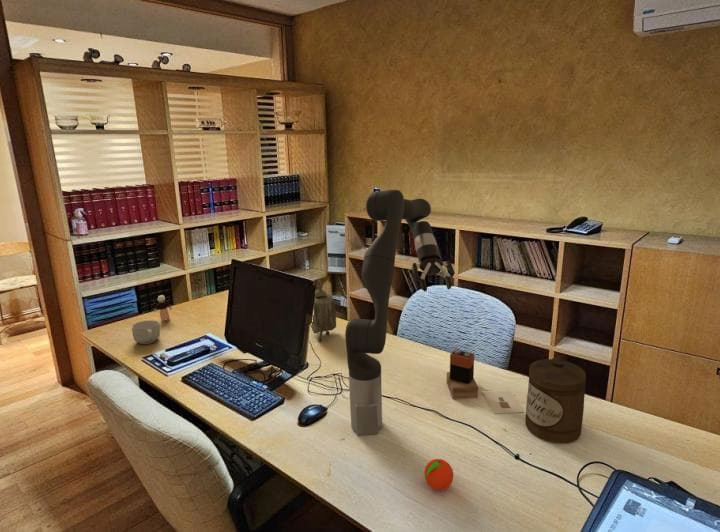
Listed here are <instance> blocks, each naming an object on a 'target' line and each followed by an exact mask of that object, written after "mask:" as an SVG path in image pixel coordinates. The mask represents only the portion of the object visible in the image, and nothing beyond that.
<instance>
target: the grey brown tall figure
mask: <svg viewBox="0 0 720 532" xmlns="http://www.w3.org/2000/svg"><path fill="white" fill-rule="evenodd" d="M316 284H317V289H316V290H315V291H314V293H315V302H314V315H313V322H312V325H311V326H310V328H311V330H312V332H313V333H314V334H316V333H319V337H318V338H317V341H318V342H321V341H322V334H323V333H324V332H325V335H328V336H329V335H330V331H333V330H334V329H336V328H337V312H336V302H335V300H334V298H333V297H332V296H331V294H330V293H327V292H326V291H325V290H324V289H322V288H323V286H322V281H321V280H320V279H319V278H317V279H316Z"/></svg>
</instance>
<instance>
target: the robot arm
mask: <svg viewBox="0 0 720 532" xmlns="http://www.w3.org/2000/svg"><path fill="white" fill-rule="evenodd" d="M365 207H366V208H365V209H366V212H367V215H368V217H369V218H370V219H371V220H372V221H377V222H383V221H385V224H384V226H383V227H382V230H381V232H379V234H378V236H377V237H376V238H375V239H374V241H373V242H371V244H370V245H369V246H368V248H367V250H366V251H365V254H364V257H363V261H362V266H361V267H362V268H361V279H362V281H363V284H364V287H365V289H366V290H367V293H368V294H369V297H370V299H371V301H372V305H373V307H374V319H365V318H351V319H349V320H348V322H347V324H346V327H345V335H344V336H345V340H344V341H345V349H346V359H347V369H348V382H349V383H348V385H349V387H348V388H349V389H348V390H349V407H350V425H351V426H350V427H351V430H352V431H354V432H355V433H356V436H360V435H361V436H367V435H368V436H369V435H378V434H379V432H380V430H381V429H382V427H383V400H382V399H383V398H382V396H383V394H382V364H381V363H380V361H379V360H378V359H376V358H375V357H373V356H371V355H370V354H372V355H373V354H374V355H379V354H381V353H382V352H383V351H384V349H385V345H386V339H387V331H388V315H389V304H390V303H389V302H390V295H391V291H392V289H391V288H392V284H393V283H392V282H393V277H394V271H395V265H396V262H395V261H396V254H397V253H396V252H397V246H398V238H399V236H400V235H399V234H400V230H401V226H402V220H405V222H406V223H407V224H408V226H409V228H410V230H411V233H412V237H413V241H414V247H415V251H416V256H417V259H418V263H416V262H413V263H412V265H411V272H412V279H413V281H414V282H419V285H420V288H421V290H422V291H423V292H427V291H428V286H427V282H426V279H425V277H426V276H427V275H428V276H437V275H439V276H440V277H442V278H443V279H444V281H445V285H446V289H447V290H451V288H452V286H453V283H452V279H453V277H454V276H455V274H456V272H455V271H454V267H453V264H452V262H451V260H450V259H447V261H442V259H441V256H440V251H439V247H438V245H437V241H436V239H435V237H434V233H433V229H432V227H431V224H430V222H428V221H426V220H423V219H426V218H428V216H430V215H431V212H432V206H431V204H430V202H429V201H428V200H426V199H424V198H414V199H406V198H404V194H403V192H402V191H401V190H400V189H388V190H382V191H381V190H379V191H378V190H377V191H373V192H371V193H370V194H368V195H367V197H366V201H365ZM421 220H423V221H421ZM419 269H420V270H421V272H422V273H421V276H420V275H419V272H418V270H419Z"/></svg>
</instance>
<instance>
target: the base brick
mask: <svg viewBox="0 0 720 532" xmlns="http://www.w3.org/2000/svg"><path fill="white" fill-rule="evenodd" d="M446 385H447V388H448V390H449V392H450V396H451V398H452V399H454V400H458V399H478V396H479V386H478V384H477V382H476V379H475V377H473V379H472V381H471V382H470V383H469V384H467V383H463V382H459V381H456V380H452V379H450V371H448V372H447V371H446Z"/></svg>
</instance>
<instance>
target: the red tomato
mask: <svg viewBox="0 0 720 532" xmlns="http://www.w3.org/2000/svg"><path fill="white" fill-rule="evenodd" d="M423 474H424V479H425V481H426V483H427V485H428V486H429V487H430V488H431V489H434V490H436V491H443V490H446V489H448V488H449V487H450V486H451V485H452V483H453V480H454V470H453V468H452V466H451V464H450V463H448V462H447V461H446V460H445V459H442V458H435V459H434V458H433V459H432V460H429V462H428V463H427V464H426V466H425V468H424V473H423Z"/></svg>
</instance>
